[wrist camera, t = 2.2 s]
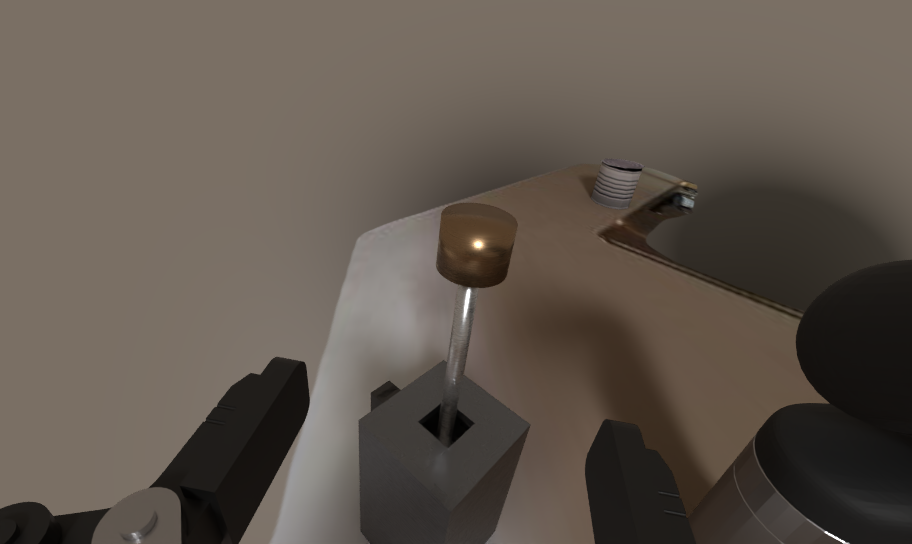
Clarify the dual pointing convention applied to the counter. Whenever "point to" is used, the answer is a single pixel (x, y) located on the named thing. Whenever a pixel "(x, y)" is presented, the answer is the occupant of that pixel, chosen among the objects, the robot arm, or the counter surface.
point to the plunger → (467, 291)
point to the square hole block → (435, 464)
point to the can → (616, 183)
